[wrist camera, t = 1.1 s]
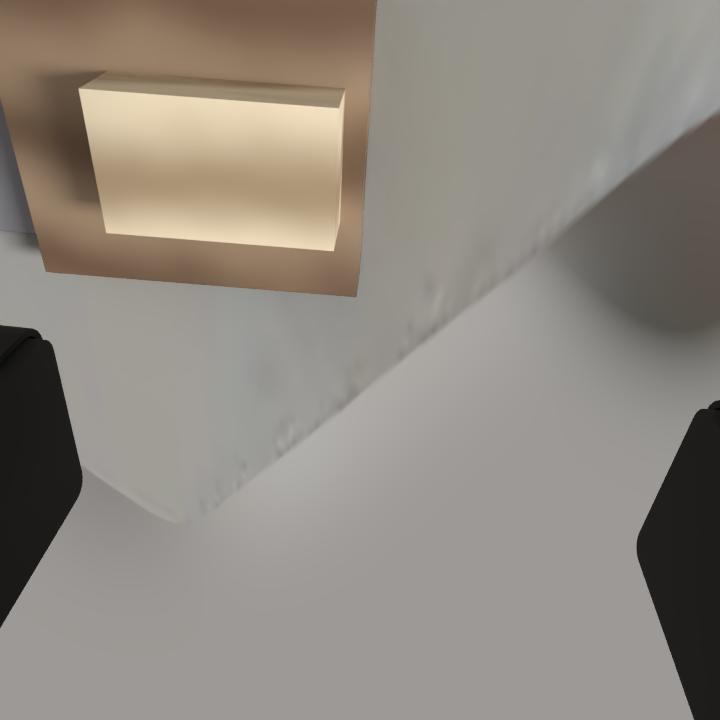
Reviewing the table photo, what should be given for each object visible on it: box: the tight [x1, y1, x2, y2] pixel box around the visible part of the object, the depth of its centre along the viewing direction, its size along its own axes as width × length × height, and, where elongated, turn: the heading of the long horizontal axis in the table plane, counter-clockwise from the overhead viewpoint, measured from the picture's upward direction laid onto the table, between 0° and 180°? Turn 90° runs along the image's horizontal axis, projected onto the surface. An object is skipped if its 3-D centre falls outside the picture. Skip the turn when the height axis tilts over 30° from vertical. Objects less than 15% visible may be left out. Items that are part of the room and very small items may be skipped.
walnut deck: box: [0, 0, 377, 297], centre depth 30 cm, size 14×16×2 cm
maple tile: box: [79, 71, 345, 251], centre depth 27 cm, size 6×10×3 cm, turn 87°
